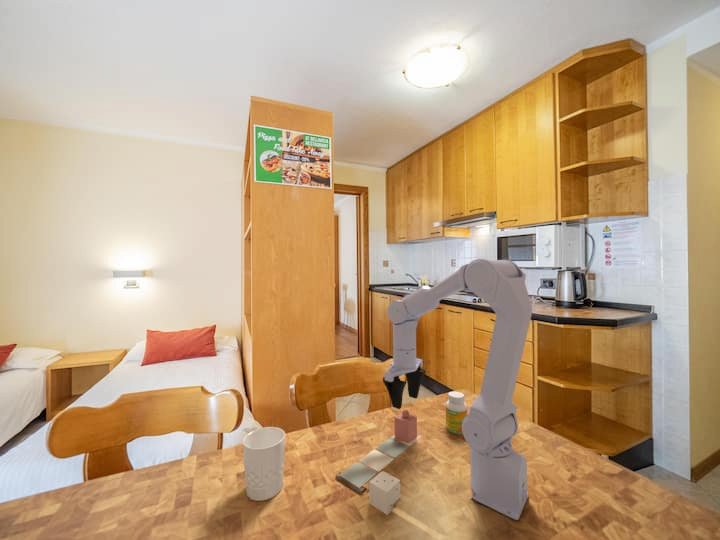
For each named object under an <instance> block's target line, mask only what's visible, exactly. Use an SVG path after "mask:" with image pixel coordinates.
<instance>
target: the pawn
mask: <svg viewBox="0 0 720 540" xmlns="http://www.w3.org/2000/svg"><path fill="white" fill-rule="evenodd" d="M417 434H418V417H417V415H414V414H412V413H410V412H409V410H406V409H404V410H403V411H402V412H400V413H399V414H397V415H395V416H394V435H395V438H397V439H400V440H402V441H404V442H407V443H410V442H411V441H412V440H413V439H414V438H416V437H417Z"/></svg>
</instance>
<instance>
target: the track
mask: <svg viewBox="0 0 720 540" xmlns="http://www.w3.org/2000/svg"><path fill="white" fill-rule="evenodd" d="M420 438H422V435H419V434H418V433H417V437H416V438H414V439H413V440H412V441H411V442H410V443H407V442H404V441H402V440H400V439H397V438H395V434H393V435H392V436H390V438H387V439H386V440H385V441H383V442H382V443H381V444H380V445H378V446H377V447H376V448H375V447H374V448H375V449H372V450H371V451H370V452H369V453H367V454H365V455H364V456H363V457H361V458H360V459H359V460H358V461H356V462H355V463H354V464H352V465H351V466H350V467H348V468H346V469H345V470H344V471H341V472H338V473H337V474H335V479H336V480H337V481H340V482H341V483H342V484H344V485H346V486H347V487H349V488H351V489H352V490H354V491H355V492H356V493H358V494H360V495H363V494H364V493H365V492H366V491H368V488H366V487H364V485H365V484H366V483H368V481H369V482H370V481H371V480H372V479H373V478H374V477H376V476H377V475H378V473H380V472H382V471H383V469H385V467H387V466H388V465H389V464H390V463H392V462H393V461H394V460H395V459H397V457H399V456H400V455H401V454H402V453H403V452H404V451H406V450H407V449H408V448H409V447H411V446H412V445H413V444H414V443H416V441H418V440H419V439H420Z"/></svg>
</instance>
